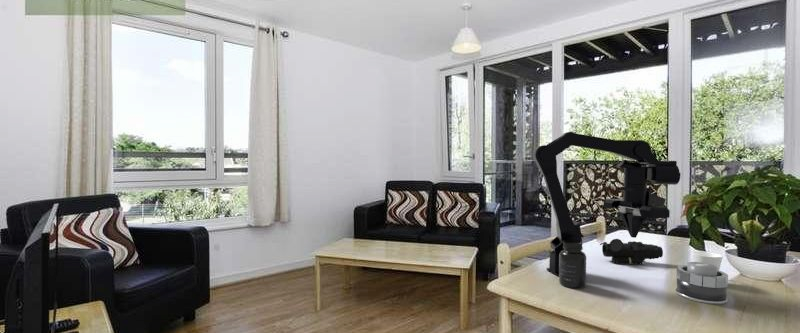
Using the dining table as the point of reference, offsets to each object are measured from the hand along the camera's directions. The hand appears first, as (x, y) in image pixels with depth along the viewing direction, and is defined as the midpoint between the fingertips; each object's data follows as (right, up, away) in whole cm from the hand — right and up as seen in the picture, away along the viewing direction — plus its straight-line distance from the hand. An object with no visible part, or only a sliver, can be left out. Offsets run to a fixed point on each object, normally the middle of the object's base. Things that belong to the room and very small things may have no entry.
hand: (633, 237), depth 111 cm
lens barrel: (+9, -13, -13) cm, 20 cm away
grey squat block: (+9, -9, -13) cm, 18 cm away
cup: (+20, -13, -1) cm, 24 cm away
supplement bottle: (-20, -12, -6) cm, 24 cm away
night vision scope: (+9, -12, +17) cm, 22 cm away
